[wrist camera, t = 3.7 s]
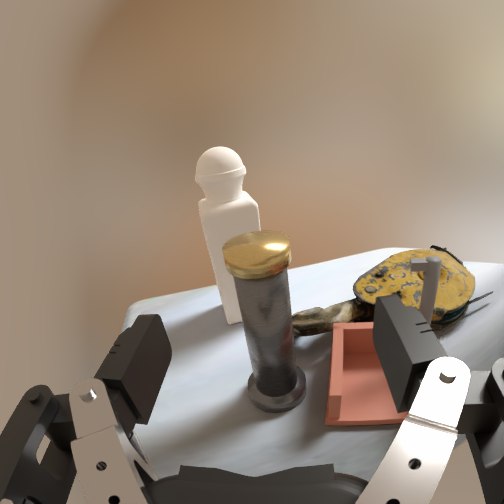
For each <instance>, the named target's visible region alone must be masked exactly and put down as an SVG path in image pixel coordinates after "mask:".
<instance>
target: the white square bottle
mask: <svg viewBox="0 0 504 504" xmlns="http://www.w3.org/2000/svg"><path fill="white" fill-rule="evenodd" d="M245 174H246V169H245V166H244V165H243V164H242V161H241V159H240V157H239V156H238V154H237V153H236V152H234V151H233V150H231V149H229V148H226V147H214V148H211V149H209V150H207V151H206V152H204V153H203V154H202V156H201V157H200V158H199V160H198V162H197V166H196V174H195V182H197V183H198V184H199V185H200V186H201V188H202V189H203V191H204V193H205V197H206V198H205V199H202V200H200V201H199V203H198V207H199V213H200V219H201V223H202V227H203V231H204V235H205V239H206V243H207V247H208V251H209V255H210V259H211V263H212V266H213V271H214V274H215V278H216V282H217V286H218V289H219V293H220V297H221V300H222V304H223V308H224V311H225V315H226V319H227V322H228V324H234V323H239V322H242V317H241V312H240V308H239V303H238V298H237V293H236V288H235V283H234V278H233V275H231V274H229V273H228V272H227V270H226V266H225V261H224V256H223V251H222V247H223V245H224V244H225V243H226V242H227V241H228V240H230V239H231V238H233V237H235V236H238V235H241V234H244V233H248V232H253V231H261V230H260V221H259V210H258V205H257V203H256V202H255V201H254V200H253V199H252V198H251V197H250V196H249V195H248V193H246V192H245V191H242V182H243V178H244V176H245Z"/></svg>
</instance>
